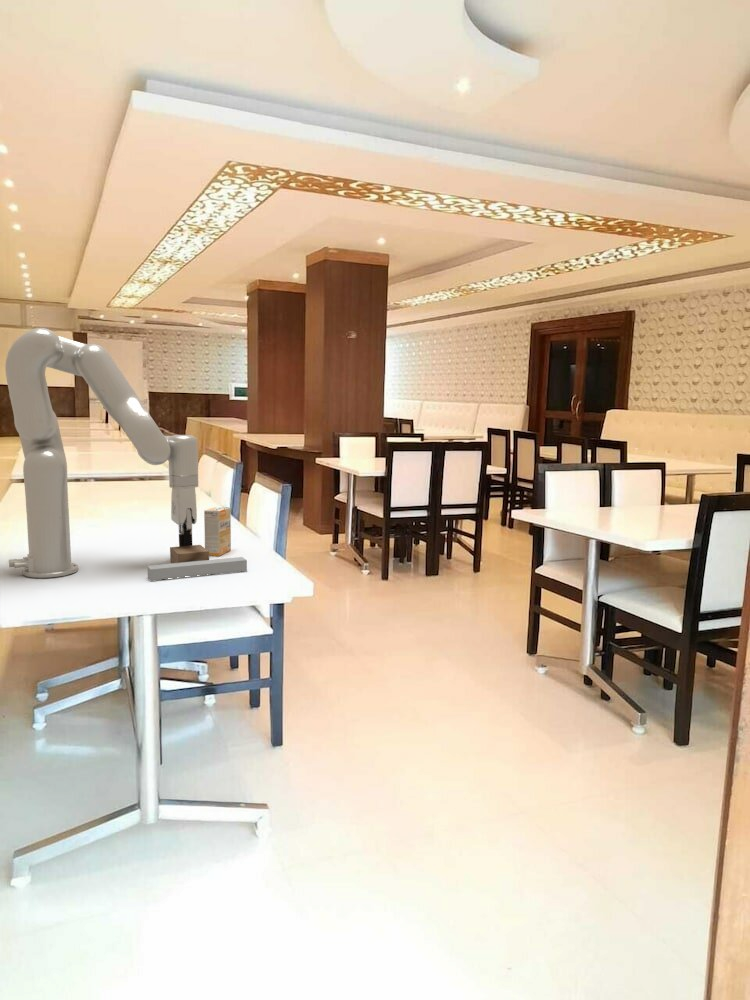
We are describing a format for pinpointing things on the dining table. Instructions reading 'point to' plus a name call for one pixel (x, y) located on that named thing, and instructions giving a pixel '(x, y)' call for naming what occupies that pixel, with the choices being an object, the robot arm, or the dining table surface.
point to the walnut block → (188, 554)
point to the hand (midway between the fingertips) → (185, 548)
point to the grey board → (197, 568)
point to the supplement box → (217, 530)
